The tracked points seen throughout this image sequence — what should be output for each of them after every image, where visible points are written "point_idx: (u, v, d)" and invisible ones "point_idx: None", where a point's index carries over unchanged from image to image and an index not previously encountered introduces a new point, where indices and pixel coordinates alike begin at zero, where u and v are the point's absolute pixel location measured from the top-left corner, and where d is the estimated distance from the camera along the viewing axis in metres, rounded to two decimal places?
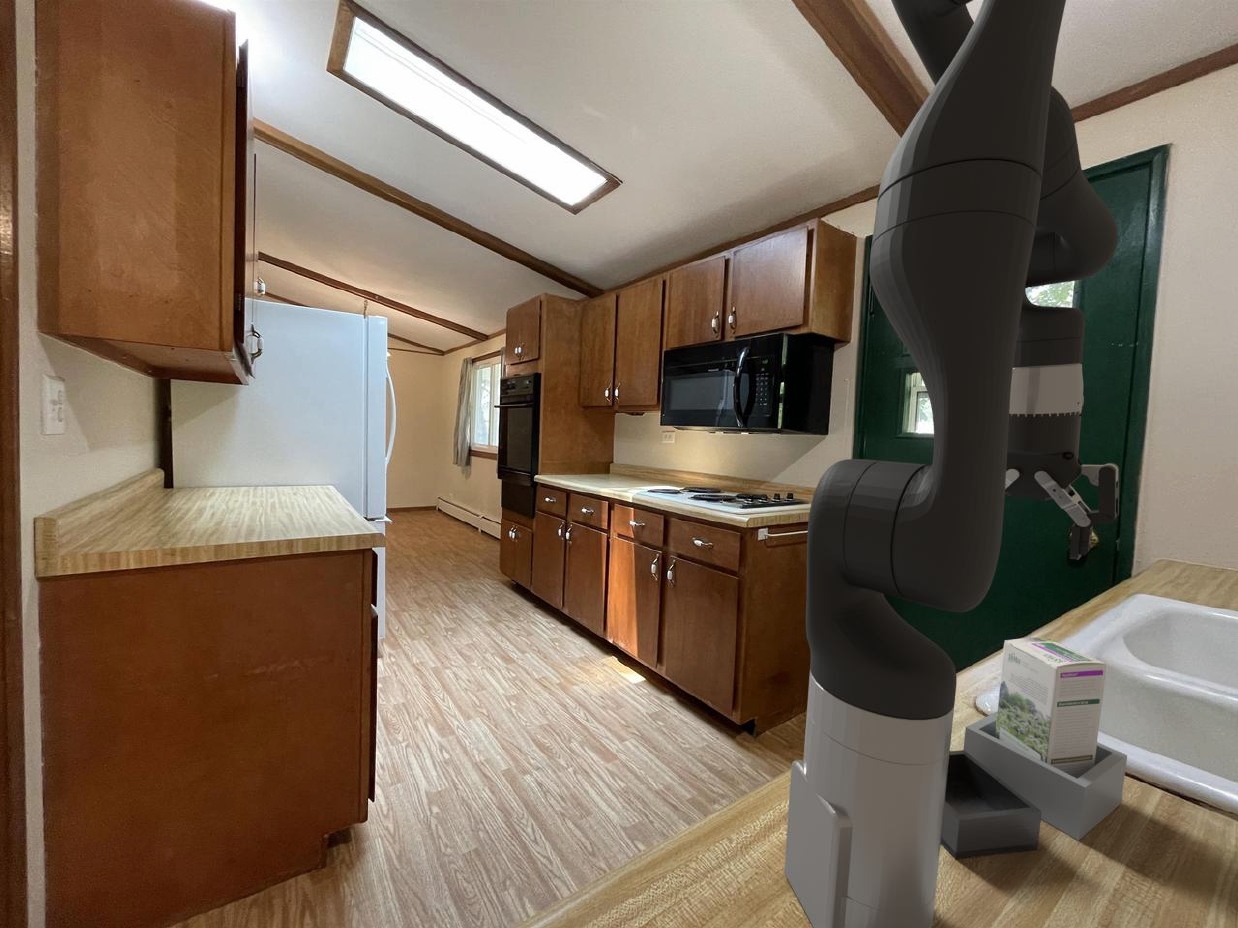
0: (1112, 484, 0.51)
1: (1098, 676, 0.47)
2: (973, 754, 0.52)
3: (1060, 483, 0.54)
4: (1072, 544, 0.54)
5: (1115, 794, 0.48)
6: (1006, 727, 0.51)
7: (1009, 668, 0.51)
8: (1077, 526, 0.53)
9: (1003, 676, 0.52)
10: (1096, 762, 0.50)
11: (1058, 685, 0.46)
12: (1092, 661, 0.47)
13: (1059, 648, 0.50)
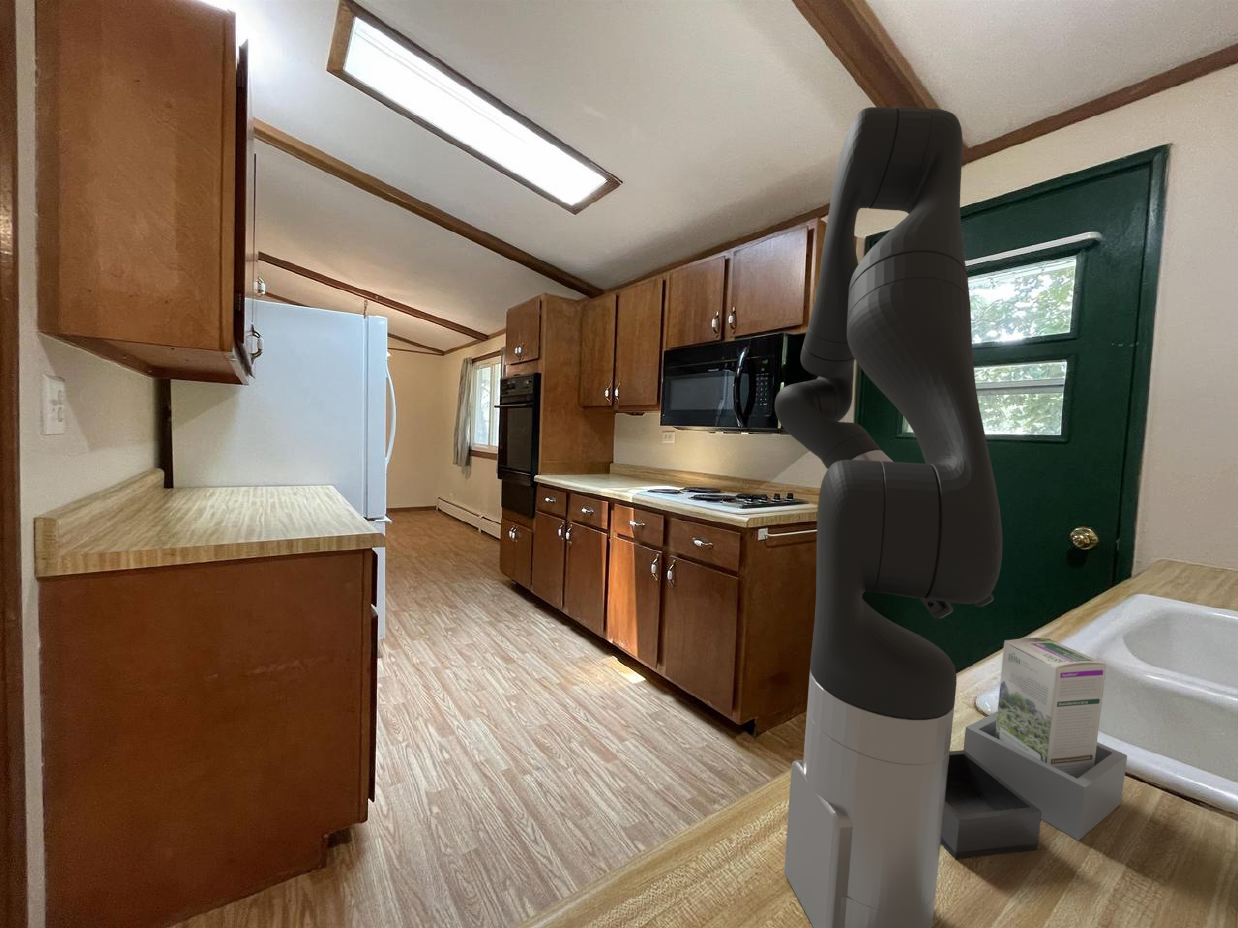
0: None
1: (1098, 676, 0.47)
2: (973, 754, 0.52)
3: None
4: None
5: (1115, 794, 0.48)
6: (1006, 727, 0.51)
7: (1009, 668, 0.51)
8: None
9: (1003, 676, 0.52)
10: (1096, 762, 0.50)
11: (1058, 685, 0.46)
12: (1092, 661, 0.47)
13: (1059, 648, 0.50)
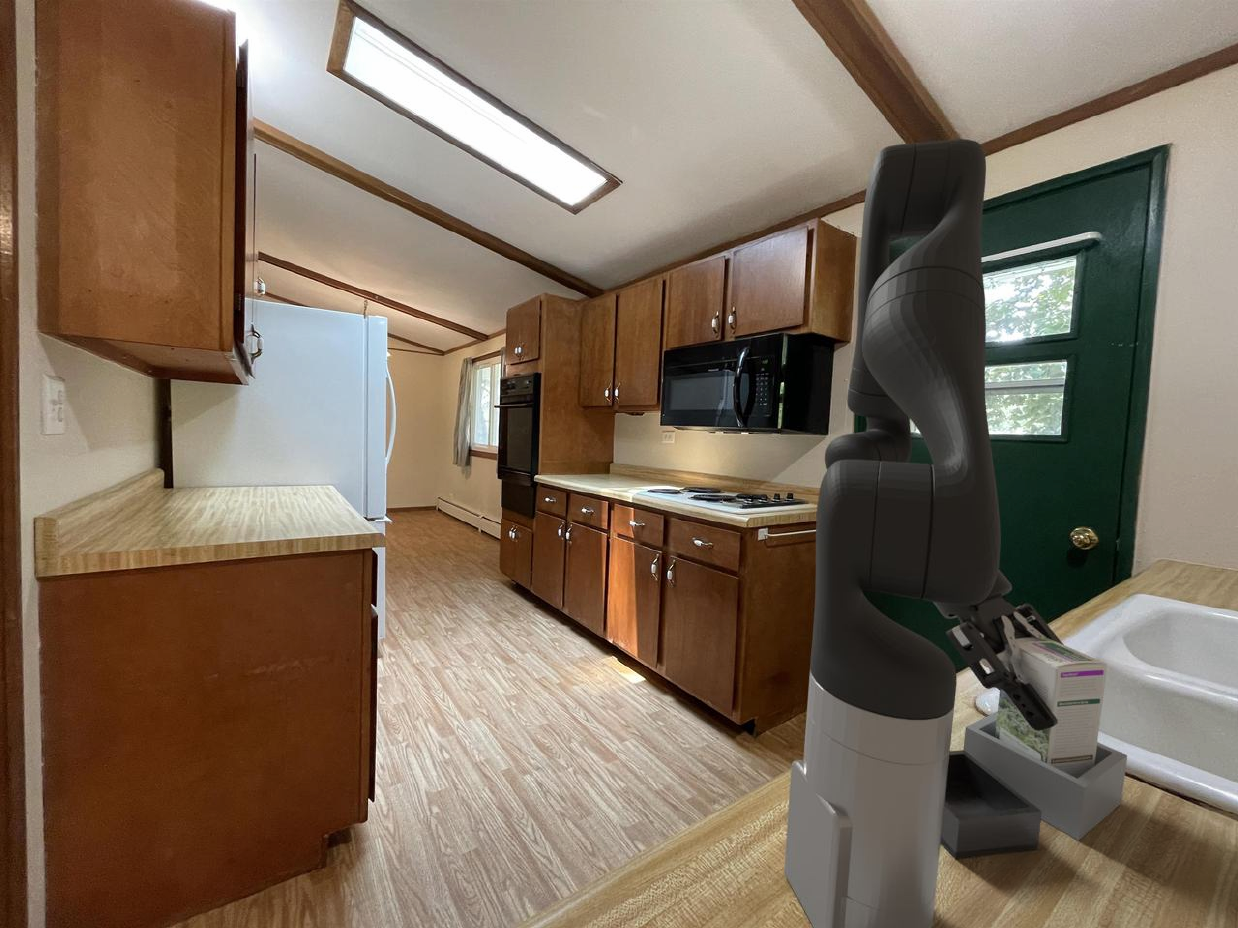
0: (1040, 617, 0.56)
1: (1098, 676, 0.47)
2: (973, 754, 0.52)
3: None
4: None
5: (1115, 794, 0.48)
6: (1006, 727, 0.51)
7: None
8: None
9: None
10: (1096, 762, 0.50)
11: (1059, 685, 0.46)
12: (1092, 661, 0.47)
13: (1059, 648, 0.50)
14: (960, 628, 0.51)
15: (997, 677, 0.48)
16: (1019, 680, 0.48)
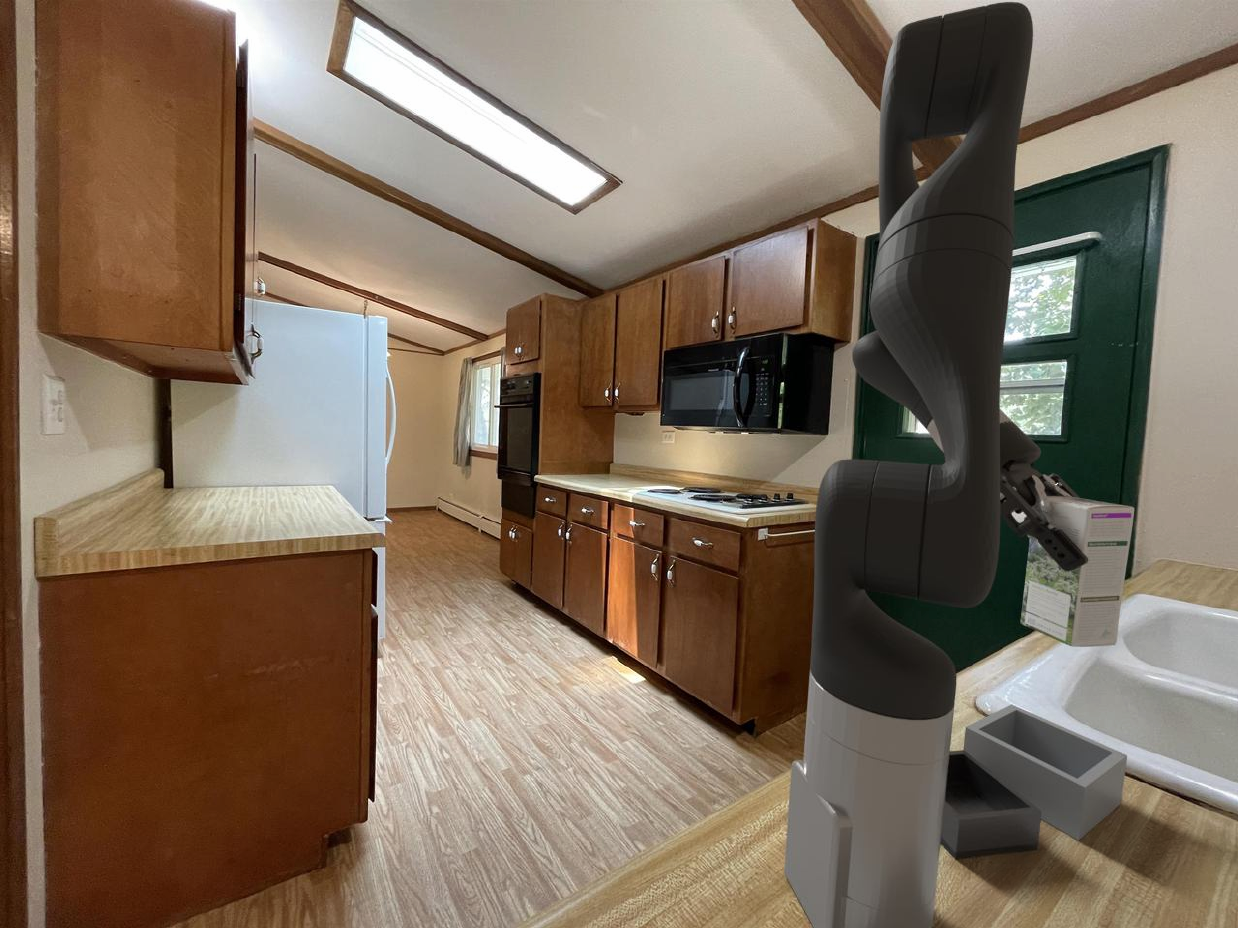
0: (1067, 485, 0.58)
1: (1126, 519, 0.49)
2: (973, 754, 0.52)
3: None
4: None
5: (1115, 794, 0.48)
6: (1036, 579, 0.54)
7: None
8: None
9: None
10: (1096, 762, 0.50)
11: (1089, 526, 0.49)
12: (1121, 505, 0.50)
13: (1088, 500, 0.52)
14: None
15: (1030, 522, 0.50)
16: (1051, 525, 0.50)
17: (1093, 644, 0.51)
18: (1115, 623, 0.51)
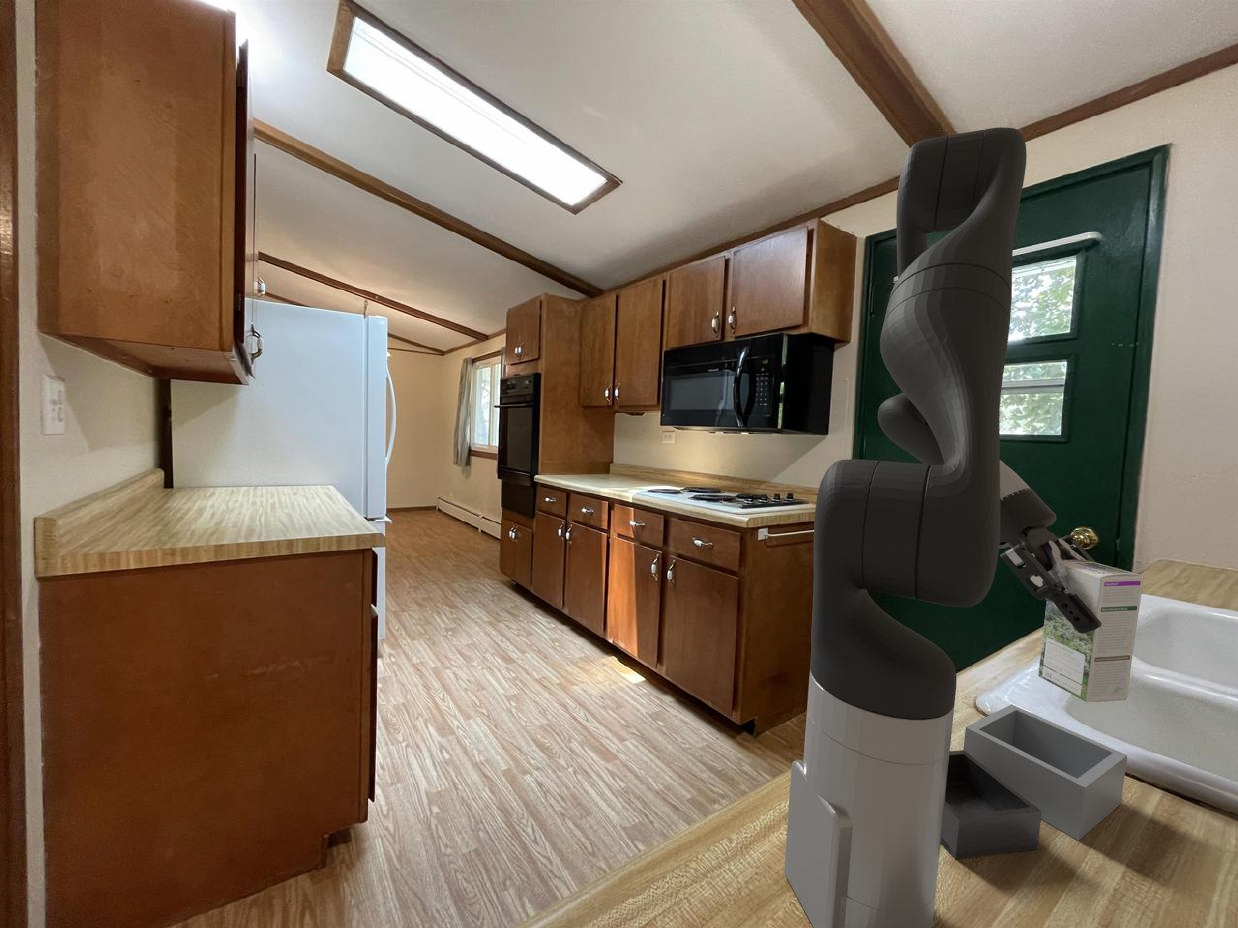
0: (1080, 546, 0.63)
1: (1136, 586, 0.54)
2: (973, 754, 0.52)
3: None
4: None
5: (1115, 794, 0.48)
6: (1052, 636, 0.59)
7: None
8: None
9: None
10: (1096, 762, 0.50)
11: (1102, 593, 0.54)
12: (1131, 573, 0.55)
13: (1100, 566, 0.57)
14: (1013, 550, 0.58)
15: (1048, 588, 0.55)
16: (1067, 591, 0.55)
17: (1106, 699, 0.55)
18: (1126, 680, 0.56)
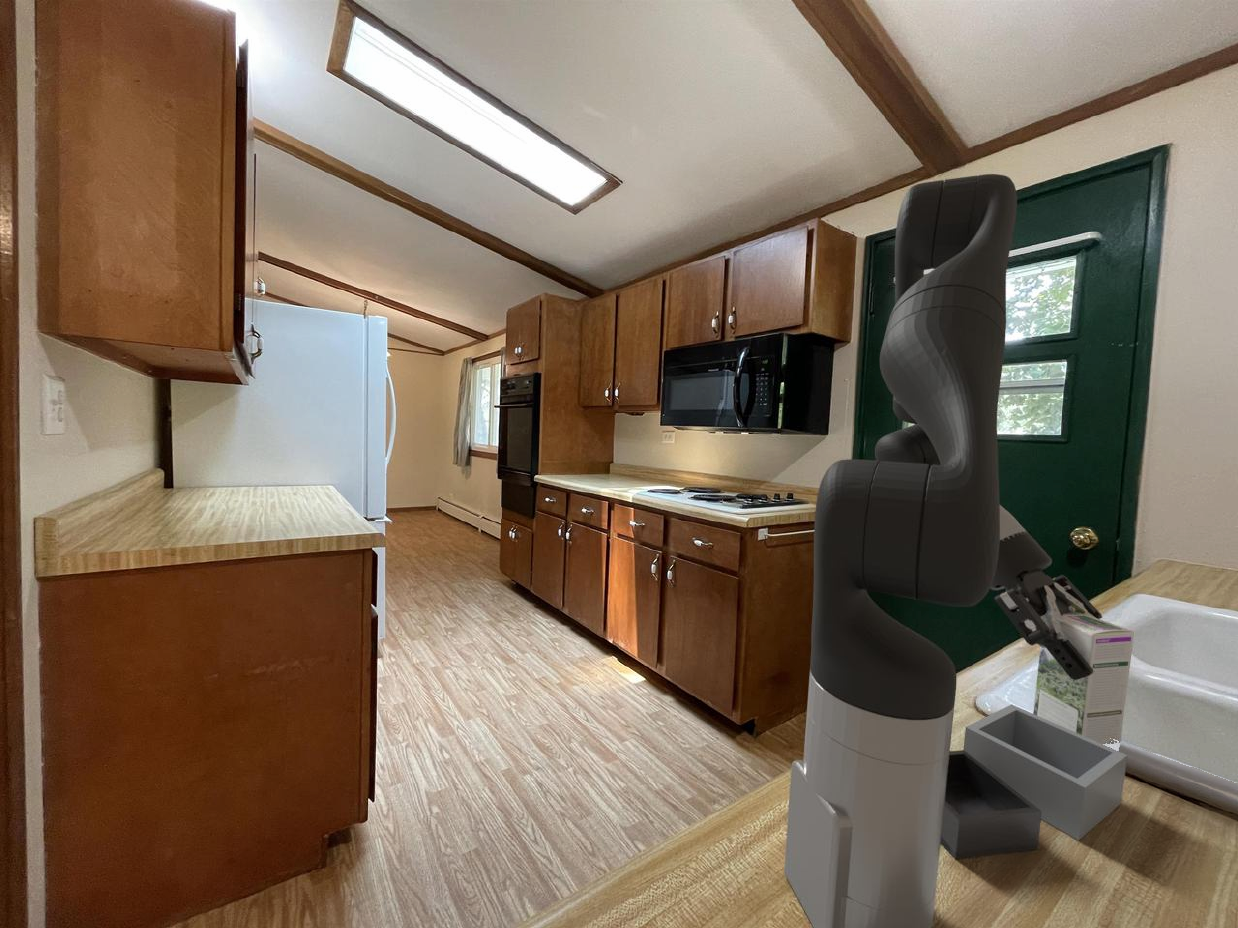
0: (1074, 586, 0.64)
1: (1127, 642, 0.55)
2: (973, 754, 0.52)
3: None
4: None
5: (1115, 794, 0.48)
6: (1045, 689, 0.59)
7: None
8: None
9: None
10: (1096, 762, 0.50)
11: (1094, 650, 0.54)
12: (1122, 629, 0.55)
13: (1092, 619, 0.58)
14: (1007, 593, 0.59)
15: (1040, 634, 0.56)
16: (1059, 637, 0.56)
17: None
18: (1118, 734, 0.56)
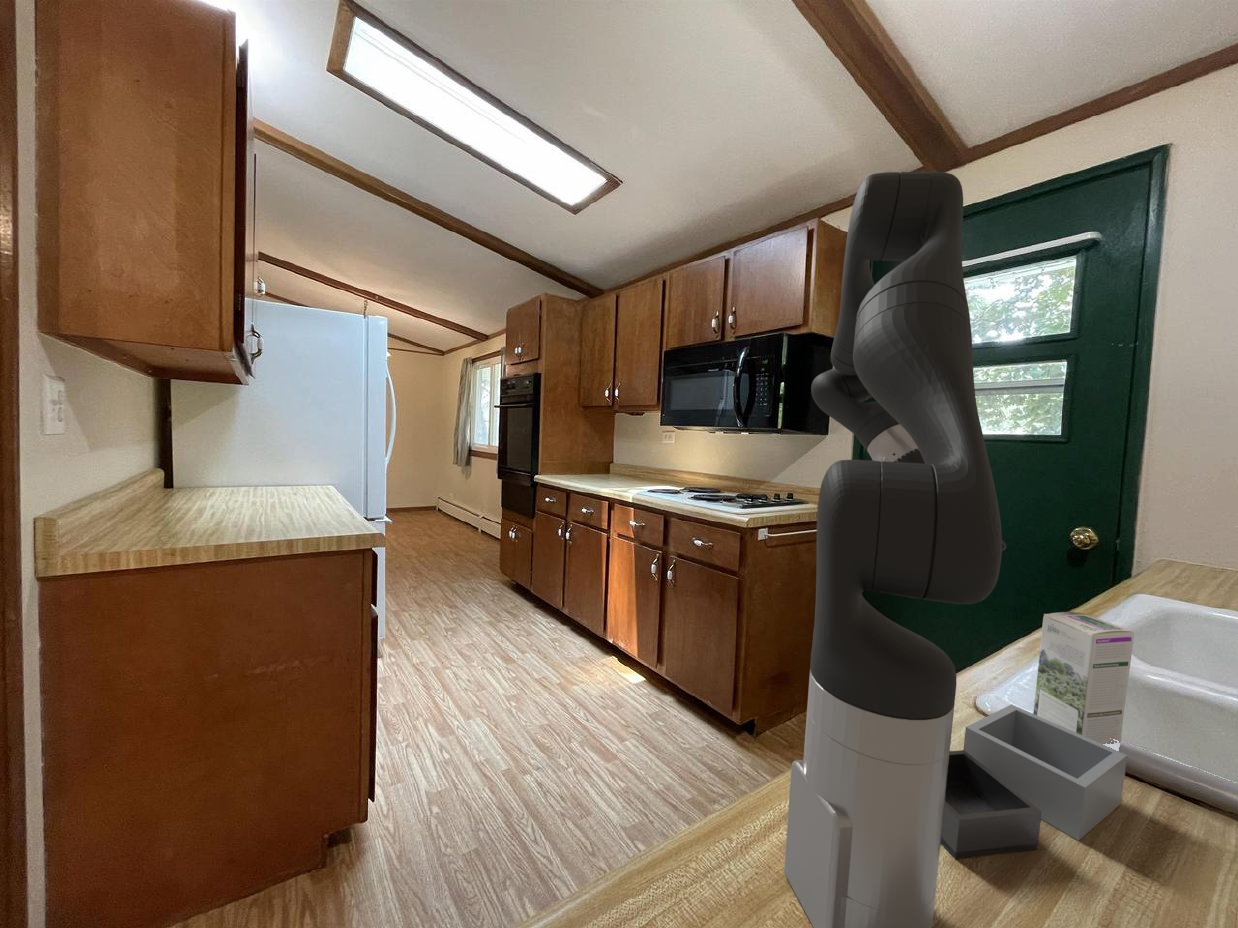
0: None
1: (1127, 642, 0.55)
2: (973, 754, 0.52)
3: None
4: None
5: (1115, 794, 0.48)
6: (1045, 689, 0.59)
7: (1048, 638, 0.59)
8: None
9: (1043, 645, 0.60)
10: (1096, 762, 0.50)
11: (1094, 650, 0.54)
12: (1122, 629, 0.55)
13: (1092, 620, 0.58)
14: None
15: None
16: None
17: None
18: (1118, 734, 0.56)
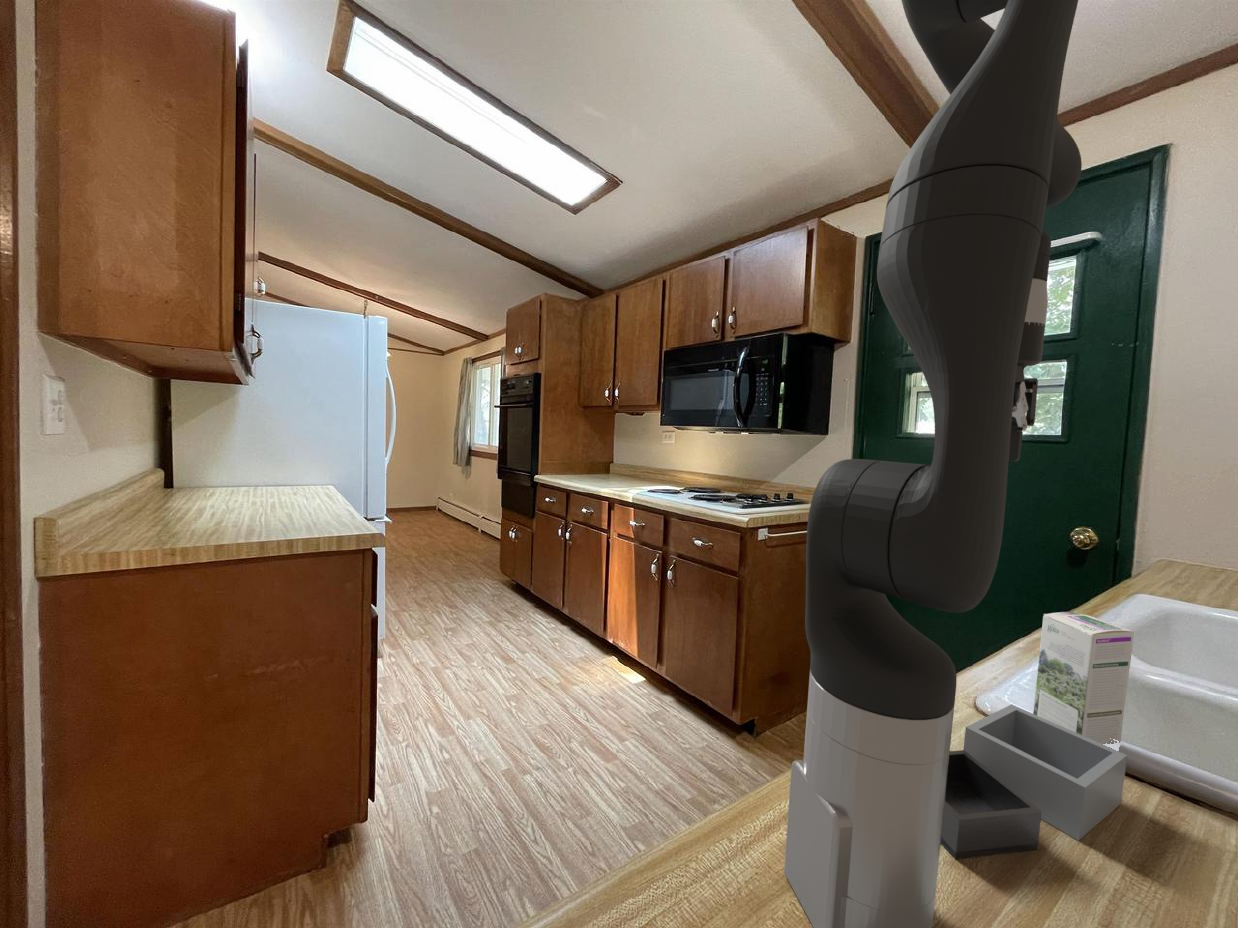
0: (1036, 392, 0.63)
1: (1127, 642, 0.55)
2: (973, 754, 0.52)
3: None
4: (1019, 447, 0.62)
5: (1115, 794, 0.48)
6: (1045, 689, 0.59)
7: (1048, 638, 0.59)
8: (1019, 431, 0.62)
9: (1043, 645, 0.60)
10: (1096, 762, 0.50)
11: (1094, 650, 0.54)
12: (1122, 629, 0.55)
13: (1092, 619, 0.58)
14: None
15: None
16: None
17: None
18: (1118, 734, 0.56)
